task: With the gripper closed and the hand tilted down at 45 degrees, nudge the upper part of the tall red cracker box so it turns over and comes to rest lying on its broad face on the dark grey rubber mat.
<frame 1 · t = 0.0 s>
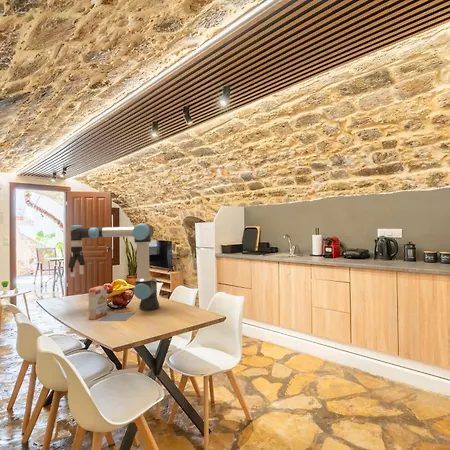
hand: (77, 275, 248), 28 cm above the table, tool pointing down, fingers open, 13 cm apart
mat: (117, 316, 236), on the table
cracker box: (98, 317, 237), on the table
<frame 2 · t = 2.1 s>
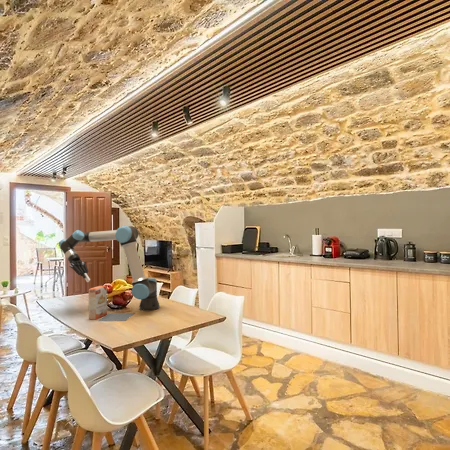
hand: (88, 281, 242), 25 cm above the table, tool tilted 45°, fingers closed
nothing on the table moved.
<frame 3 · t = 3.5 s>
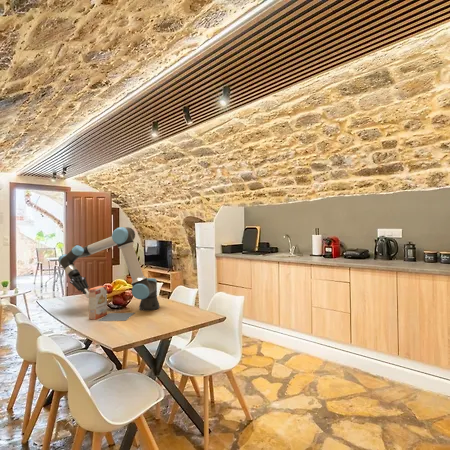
hand: (89, 296, 241), 14 cm above the table, tool tilted 45°, fingers closed
nothing on the table moved.
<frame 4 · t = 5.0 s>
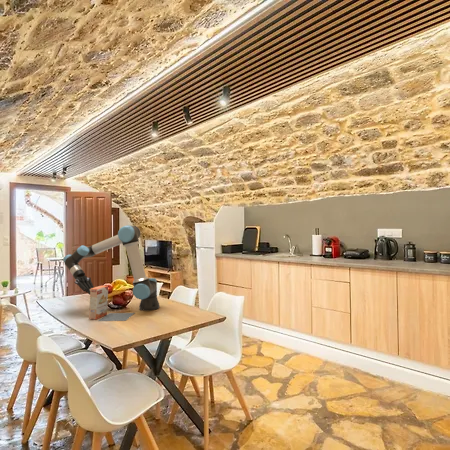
hand: (94, 297, 239), 14 cm above the table, tool tilted 45°, fingers closed
cracker box: (98, 317, 237), on the table, touching gripper
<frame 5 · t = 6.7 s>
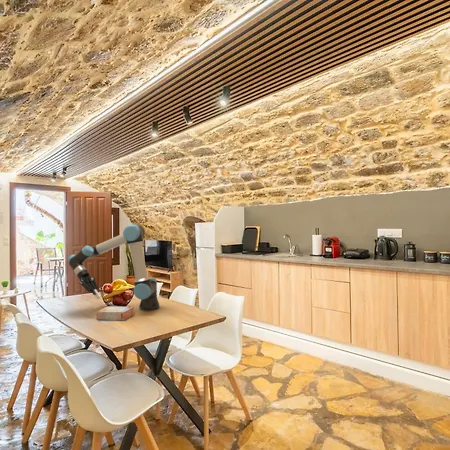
hand: (98, 297, 237), 14 cm above the table, tool tilted 45°, fingers closed
cracker box: (101, 312, 237), point 3 cm above the table, touching mat
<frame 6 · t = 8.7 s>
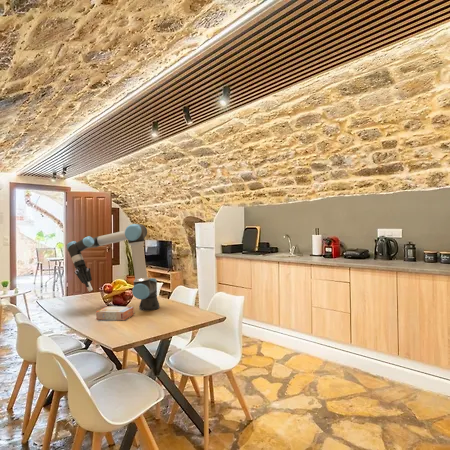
hand: (90, 290, 244), 17 cm above the table, tool tilted 30°, fingers closed
nothing on the table moved.
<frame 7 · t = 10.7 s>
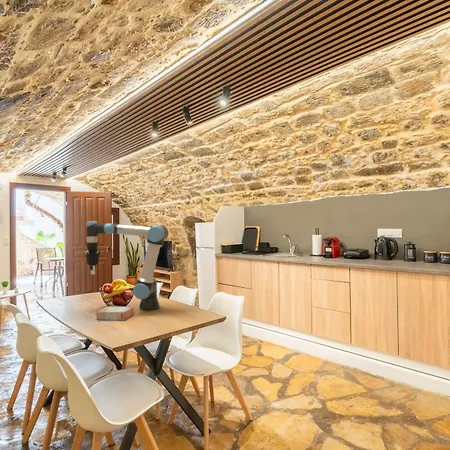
hand: (92, 274, 249), 28 cm above the table, tool pointing down, fingers closed
nothing on the table moved.
at the end: cracker box tilted 89°; cracker box point 2.9 cm above the table; cracker box inside the target area (7.5 cm from its centre), point 2.9 cm above the table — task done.
